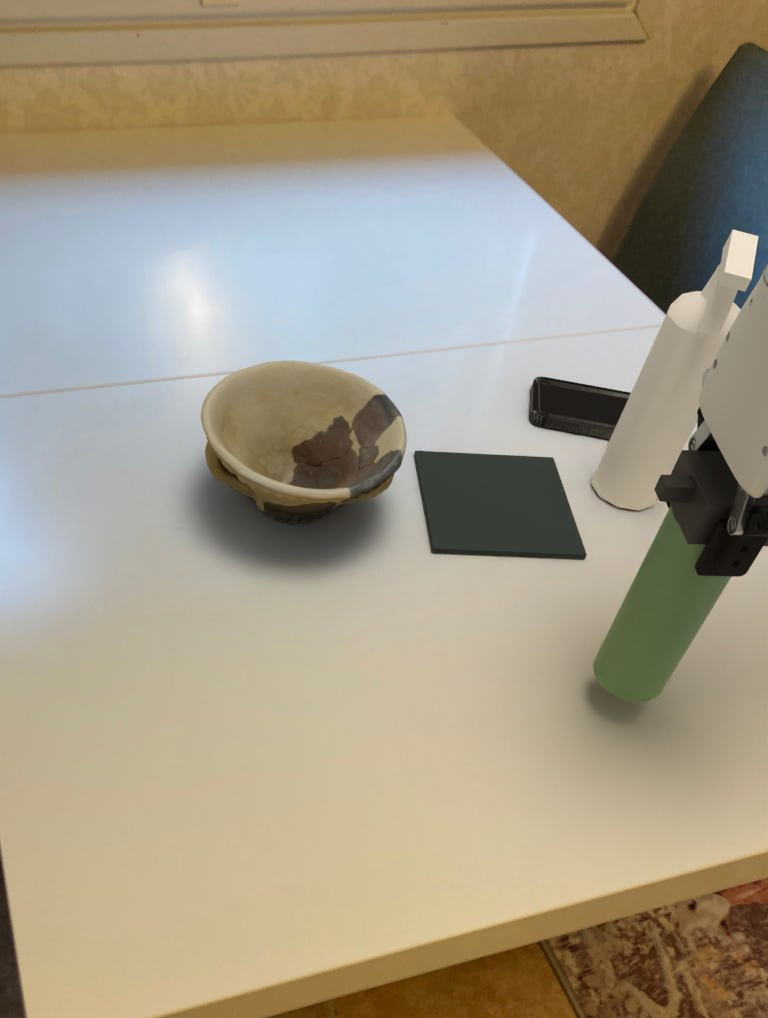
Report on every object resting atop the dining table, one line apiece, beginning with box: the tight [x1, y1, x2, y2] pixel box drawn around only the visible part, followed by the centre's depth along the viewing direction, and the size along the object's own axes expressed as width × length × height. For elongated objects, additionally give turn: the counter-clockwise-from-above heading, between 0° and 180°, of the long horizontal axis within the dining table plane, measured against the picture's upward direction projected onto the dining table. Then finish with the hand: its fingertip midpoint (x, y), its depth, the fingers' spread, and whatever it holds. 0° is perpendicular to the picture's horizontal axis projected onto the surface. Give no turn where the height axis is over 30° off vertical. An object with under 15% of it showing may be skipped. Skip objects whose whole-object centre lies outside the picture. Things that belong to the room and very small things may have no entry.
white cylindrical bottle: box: [590, 229, 759, 511], centre depth 82 cm, size 7×12×25 cm, turn 157°
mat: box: [413, 450, 587, 560], centre depth 87 cm, size 14×14×1 cm
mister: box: [592, 449, 768, 703], centre depth 64 cm, size 7×5×19 cm
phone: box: [528, 376, 631, 440], centre depth 98 cm, size 8×1×15 cm
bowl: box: [200, 360, 408, 524], centre depth 82 cm, size 18×18×10 cm
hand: (703, 536), depth 60 cm, fingers closed on mister, 5 cm apart
